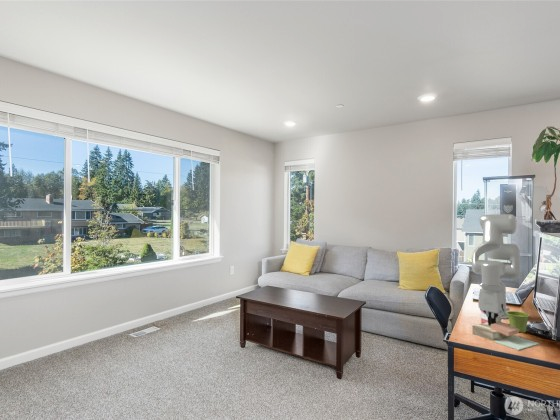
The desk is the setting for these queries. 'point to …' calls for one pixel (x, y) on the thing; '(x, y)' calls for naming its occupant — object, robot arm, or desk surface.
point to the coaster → (504, 328)
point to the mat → (516, 342)
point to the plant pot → (518, 320)
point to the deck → (487, 332)
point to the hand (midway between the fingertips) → (491, 325)
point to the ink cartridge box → (485, 319)
